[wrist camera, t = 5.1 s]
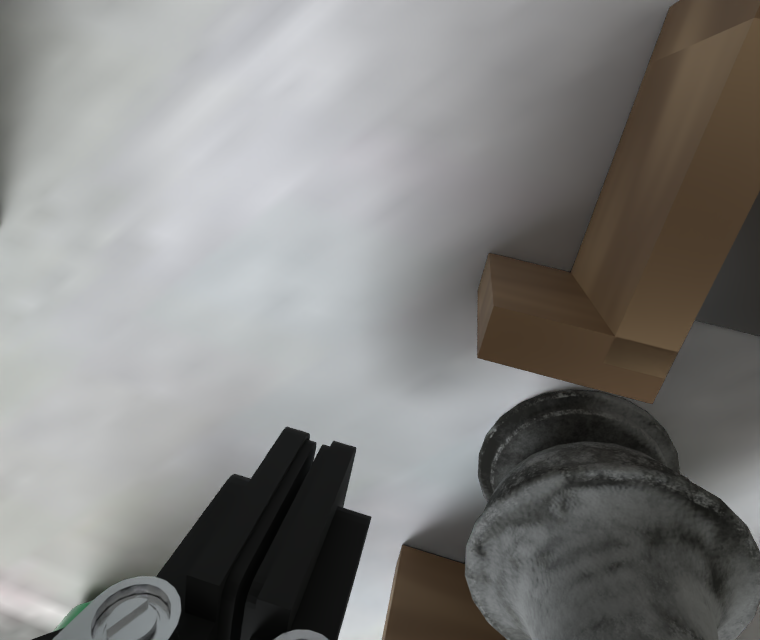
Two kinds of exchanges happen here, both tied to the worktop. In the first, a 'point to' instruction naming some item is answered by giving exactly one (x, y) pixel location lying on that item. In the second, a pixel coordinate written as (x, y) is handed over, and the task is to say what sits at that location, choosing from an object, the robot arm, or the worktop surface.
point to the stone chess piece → (603, 531)
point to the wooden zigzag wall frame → (630, 262)
